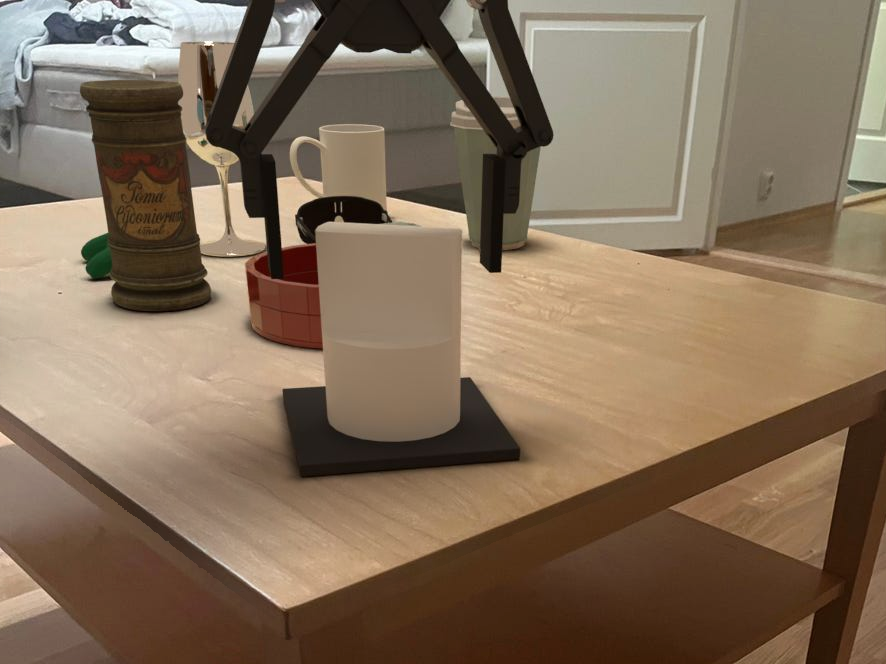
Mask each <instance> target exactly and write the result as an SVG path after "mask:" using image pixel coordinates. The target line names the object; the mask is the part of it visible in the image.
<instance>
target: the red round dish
mask: <svg viewBox="0 0 886 664" xmlns="http://www.w3.org/2000/svg"><path fill="white" fill-rule="evenodd" d="M282 259H283V272H284V279H271V276H270V272H269V268H268V256H267V250H265V251H262V252H260V253H257V254H254V255H252V257H250V258H249V259H248V260H247V261H246V262H245V263H244V270H245V279H246V289H247V298H248V308H249V317H250V324H251V328H252V330H253V331H254V332H255V333H256V334H258V335H260V336H261V337H263V338H265V339H267V340H270V341H273V342H277V343H280V344H284V345H287V346H288V345H289V346H293V347H294V346H295V347H298V348H299V347H300V348H306V349H307V348H309V349H319V350H323V341H322V326H321V311H320V296H319V281H318V266H317V250H316V243H313V244H306V243H304V244H296V245H289V246H284V247H282Z"/></svg>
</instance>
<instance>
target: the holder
mask: <svg viewBox="0 0 886 664" xmlns="http://www.w3.org/2000/svg"><path fill="white" fill-rule="evenodd" d="M281 392H282V400H283V405H284V408H285V413H286V418H287V423H288V426H289V431H290V435H291V440H292V444H293V449H294V453H295V458H296V462H297V466H298V471H299V475H300V477H315V476H316V477H317V476H329V475H341V474H342V475H343V474H354V473H366V472H376V471H377V472H378V471H389V470H402V469H415V468H416V469H417V468H426V467H439V466H452V465H463V464H477V463H479V464H480V463H488V462H502V461H513V460H520V459H521V448H520V446H519V445H518V443H517V441H516V440H515V439H514V437H513V436H512V435H511V433H510V432H509V430H508V429H507V427H506V426H505V425H504V423H503V421H502V420H501V419H500V417H499V416H498V414H497V413H496V412H495V410H494V409H493V407H492V406H491V405H490V403H489V401H488V400H487V399H486V397H485V396H484V394H483V393H482V392H481V391H480V388H478V386H477V385H476V383H475V382H474V380H473V379H472V378H471V377H470V376H468V377H467V376H466V377H460V421H459V422H458V423H457V425H456V426H455V427H454V428H452V429H450V430H449V431H447V432H445V433H443V434H440V435H437V436H434V437H430V438H425V439H420V440H413V441H400V442H389V441H373V440H366V439H360V438H356V437H353V436H349V435H346V434H344V433H342V432H340V431H337V430H336V429H335V428H334V427H332V426H331V425H330V424H329V421H328V417H327V402H326V386H325V385H324V386H323V385H322V386H305V387H289V388H288V387H287V388H282V391H281Z"/></svg>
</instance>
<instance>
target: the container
mask: <svg viewBox="0 0 886 664" xmlns="http://www.w3.org/2000/svg"><path fill="white" fill-rule="evenodd" d="M79 95H80V97H81V98H82V99H83V100H85V101H86V102H87V103H88V105H87V106H86V107H85V111H86V112H87V113H88V117H89V118H90V124H91V130H92V135H91V143H92V144H93V148H94V153H95V154H94V155H95V163H96V167H97V173H98V180H99V184H100V189H101V195H102V201H103V207H104V213H105V220H106V226H107V233H108V234H109V237H108V245H109V247H110V252H111V259H112V265H113V267H112V269H111V273H110V275H109V277H110V279H111V280H112V281H114V283H113V284H112V286H111V288H110V289H111V290H110V294H111V298H112V300H113V302H114V303H115V304H116V305H117V306H119V307H121V308H124V309H129V310H133V311H141V312H142V311H143V312H168V311H171V312H172V311H179V310H186V309H190V308H195V307H199V306H202V305H203V304H206V303H207V302H208V301H209V300H210V299H211V296H212V287H211V285H210V283H209V282H208V281H207V280H206V279H205V278H206V277H207V276H208V274H209V273H208V270H207V269H206V267H205V265H204V264H203V259H202V254H201V250H200V244H201V238H200V234H199V233H198V230H197V222H196V216H195V208H194V207H195V206H194V199H193V191H192V183H191V174H190V167H189V166H190V165H189V158H188V151H187V143H186V140H187V139H186V137H185V135H184V133H183V127H182V120H181V111H182V107H181V106H180V105H179V104H178V101H179V100H180V99H181V98H182V97H183V89H182V86H181V84H180V83H178V81H177V82H175V81H168V80H167V81H166V80H151V79H106V80H105V79H103V80H90V81H84V82H81V84H80V87H79Z"/></svg>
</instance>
